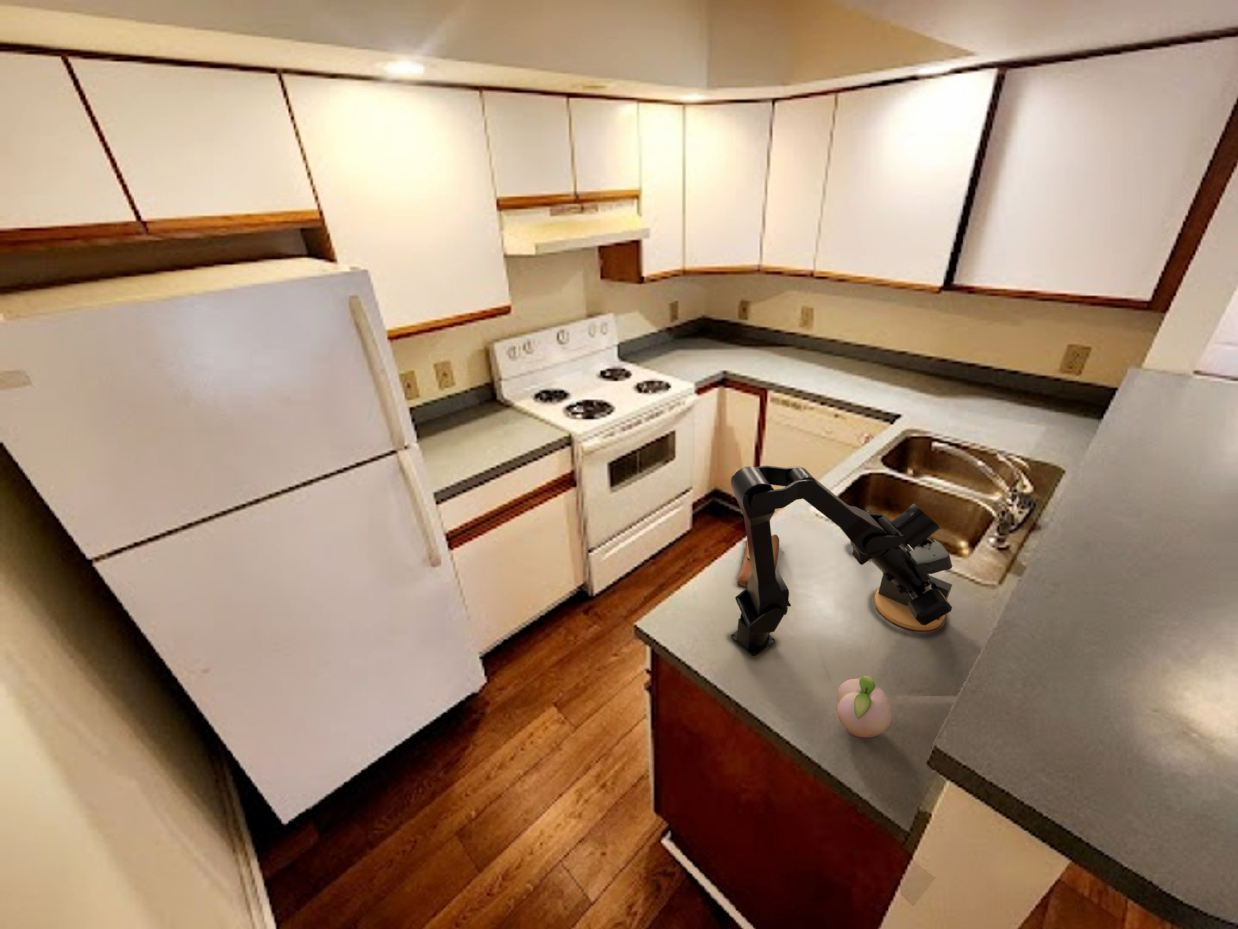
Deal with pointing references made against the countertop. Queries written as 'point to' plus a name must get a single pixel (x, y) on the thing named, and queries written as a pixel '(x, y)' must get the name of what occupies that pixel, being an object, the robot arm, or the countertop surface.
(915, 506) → the robot arm
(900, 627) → the turntable base
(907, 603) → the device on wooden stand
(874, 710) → the decorative fruit
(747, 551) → the sunglasses case
